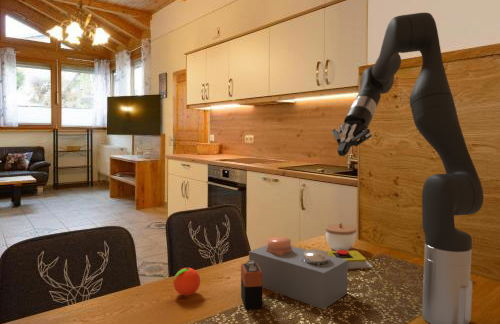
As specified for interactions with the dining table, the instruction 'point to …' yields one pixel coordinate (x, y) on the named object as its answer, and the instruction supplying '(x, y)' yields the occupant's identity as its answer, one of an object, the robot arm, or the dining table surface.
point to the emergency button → (351, 258)
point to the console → (302, 276)
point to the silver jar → (315, 257)
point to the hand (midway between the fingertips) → (341, 154)
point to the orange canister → (279, 245)
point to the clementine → (186, 281)
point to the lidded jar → (340, 236)
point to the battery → (251, 285)
